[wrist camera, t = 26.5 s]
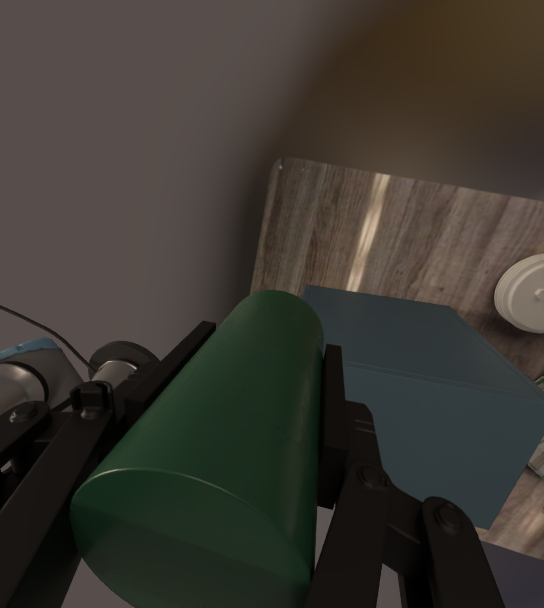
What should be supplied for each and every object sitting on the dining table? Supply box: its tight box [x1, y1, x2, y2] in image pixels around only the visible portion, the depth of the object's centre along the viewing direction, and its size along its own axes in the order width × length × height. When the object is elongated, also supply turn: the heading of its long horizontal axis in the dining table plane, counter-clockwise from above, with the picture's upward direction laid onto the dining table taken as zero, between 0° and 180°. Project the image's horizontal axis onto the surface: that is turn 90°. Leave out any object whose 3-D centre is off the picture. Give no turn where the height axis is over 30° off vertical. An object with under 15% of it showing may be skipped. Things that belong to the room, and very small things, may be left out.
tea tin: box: [69, 290, 324, 608], centre depth 12 cm, size 6×6×12 cm
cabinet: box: [302, 285, 544, 530], centre depth 44 cm, size 18×26×27 cm
